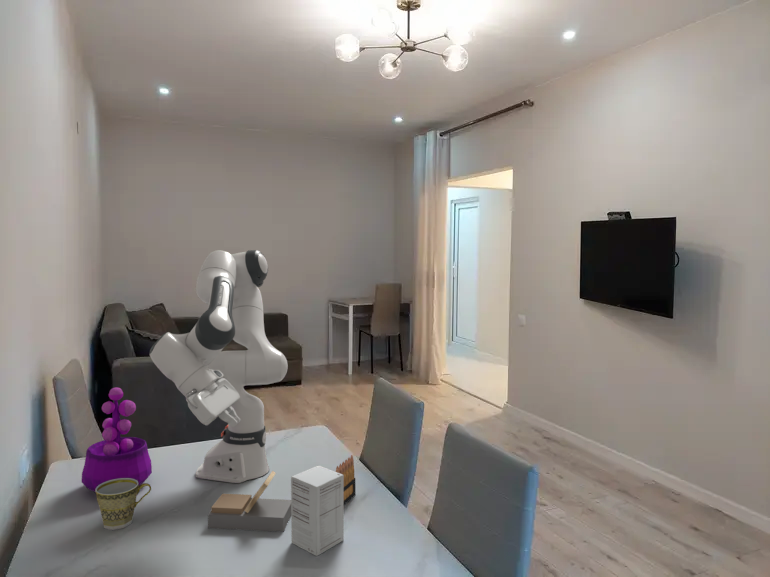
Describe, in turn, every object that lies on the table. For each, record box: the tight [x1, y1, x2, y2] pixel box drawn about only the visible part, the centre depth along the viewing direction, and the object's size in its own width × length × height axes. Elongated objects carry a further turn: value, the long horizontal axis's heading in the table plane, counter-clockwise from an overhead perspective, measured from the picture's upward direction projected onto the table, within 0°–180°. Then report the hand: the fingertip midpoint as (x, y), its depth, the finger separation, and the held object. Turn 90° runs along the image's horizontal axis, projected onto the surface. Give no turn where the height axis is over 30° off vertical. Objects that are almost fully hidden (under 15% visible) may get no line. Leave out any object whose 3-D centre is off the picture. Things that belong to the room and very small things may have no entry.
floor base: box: [207, 493, 291, 533], centre depth 144 cm, size 20×10×5 cm, turn 86°
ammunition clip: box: [335, 454, 357, 506], centre depth 156 cm, size 11×2×12 cm, turn 157°
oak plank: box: [244, 470, 277, 513], centre depth 144 cm, size 9×8×1 cm
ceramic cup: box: [95, 478, 152, 531], centre depth 142 cm, size 13×10×10 cm
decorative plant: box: [81, 387, 153, 493], centre depth 162 cm, size 19×18×30 cm
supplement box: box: [290, 465, 345, 557], centre depth 134 cm, size 10×9×17 cm
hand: (237, 423), depth 143 cm, fingers closed
